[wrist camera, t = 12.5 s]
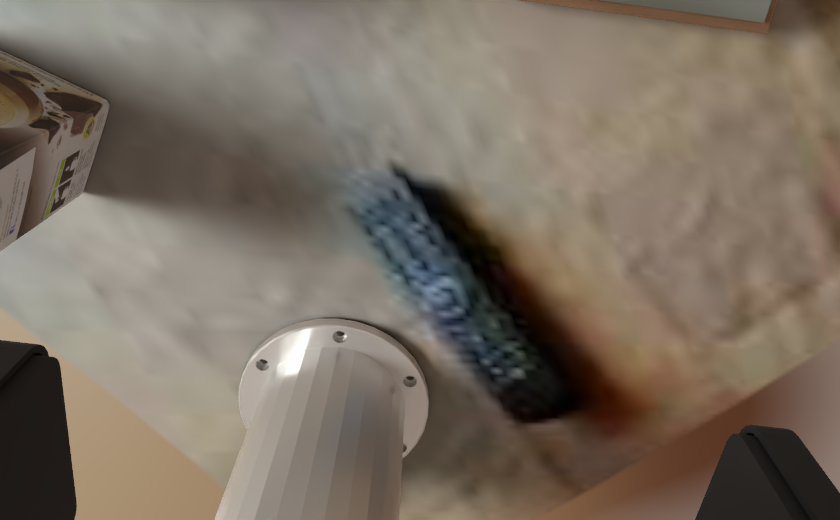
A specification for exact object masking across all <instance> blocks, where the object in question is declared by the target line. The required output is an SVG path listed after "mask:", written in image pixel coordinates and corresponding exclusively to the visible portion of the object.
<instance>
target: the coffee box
mask: <svg viewBox="0 0 840 520" xmlns="http://www.w3.org/2000/svg"><path fill="white" fill-rule="evenodd" d="M109 107H110V105H109V103H108V101H107V100H106V99H104V98H102V97H99V96H97V95H95V94H93V93H91V92H89V91H87V90H85V89H82V88H80V87H78V86H76V85H74V84H72V83H70V82H67V81H65V80H63V79H61V78H59V77H57V76H55V75H52V74H50V73H48V72H46V71H44V70H42V69H40V68H38V67H35V66H33V65H31V64H29V63H27V62H25V61H23V60H21V59H18V58H16V57H14V56H12V55H10V54H8V53H6V52H3V51H1V50H0V251H1V250H3V249H4V248H5V247H7V246H8V245H10V244H11V243H12V242H14V241H15V240H17V239H18V238H20V237H21V236H22V235H24V234H25V233H27V232H28V231H30V230H31V229H33V228H34V227H35V226H37V225H38V224H40V223H41V222H43V221H44V220H46V219H47V218H48V217H50V216H51V215H52V214H54V213H55V212H56V211H58V210H59V209H61V208H62V207H64V206H65V205H66V204H68V203H69V202H71V201H72V200H73V199H75V198H76V197H78V196H79V195H81V194H82V193H83V191H84V188H85V185H86V182H87V179H88V176H89V173H90V169H91V166H92V163H93V160H94V157H95V154H96V151H97V147H98V144H99V141H100V138H101V135H102V132H103V128H104V125H105V122H106V118H107V115H108V111H109Z"/></svg>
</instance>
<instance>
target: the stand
mask: <svg viewBox="0 0 840 520" xmlns="http://www.w3.org/2000/svg"><path fill="white" fill-rule="evenodd" d="M522 1H530V2H537V3H544V4H552V5H559V6H566V7H574V8H581V9H588V10H595V11H603V12H610V13H617V14H625V15H632V16H639V17H647V18H654V19H661V20H669V21H676V22H683V23H691V24H698V25H705V26H712V27H720V28H727V29H734V30H742V31H749V32H756V33H764V34H767V32H768V29H769V26H770V23H771V20H772V17H773V14H774V11H775V8H776V5H777V2H778V0H522Z"/></svg>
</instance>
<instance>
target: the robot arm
mask: <svg viewBox="0 0 840 520" xmlns="http://www.w3.org/2000/svg"><path fill="white" fill-rule="evenodd" d="M339 331H341V332H342V333H341V332H339ZM238 404H239V408H240V413H241V418H242V420H243V422H244V424H245V427H246V429H247V433H246V436H245V439H244V441H243V444H242V447H241V449H240V452H239V455H238V457H237V460H236V463H235V466H234V468H233V471H232V474H231V476H230V479H229V482H228V485H227V487H226V490H225V493H224V495H223V498H222V501H221V503H220V506H219V509H218V512H217V514H216V517H215V520H399V513H400V495H401V476H402V459H403V458H404V457H405V456H407V455H408V454H409V452H410V451H411V450H412V449H413V448H414V447H415V446H416V444H417V443H418V441H419V439H420V438H421V436H422V434H423V432H424V429H425V426H426V422H427V419H428V408H429V399H428V387H427V384H426V381H425V378H424V374H423V372H422V370H421V369H420V367H419V365H418V363H417V362H416V360H415V359H414V357H413V356H412V355H411V354H410V353H409V352H408V351H407V349H406V348H405V347H404V346H403V345H401V344H400V343H399V342H397V341H396V340H395V339H394V338H392V337H391V336H389V335H388V334H386V333H384V332H382V331H380V330H378V329H376V328H374V327H371V326H368V325H365V324H362V323H359V322H356V321H350V320H344V319H314V320H308V321H303V322H299V323H296V324H293V325H291V326H288V327H285V328H283V329H281V330H280V331H278V332H276V333H275V334H273V335H271V336H270V337H268V338H267V339H266V340H265V341H264V342H263V343H262V344H261V345H260V346H259V347H258V348H257V349H256V350H255V352H254V353H253V355H252V356H251V358H250V359H249V361H248V363H247V365H246V368H245V370H244V372H243V374H242V378H241V382H240V386H239V399H238ZM75 514H76V496H75V487H74V478H73V470H72V462H71V454H70V445H69V436H68V428H67V420H66V412H65V403H64V395H63V387H62V378H61V371H60V365H59V362H58V360H57V359H56V358H54V357H49V356H48V352H47V350H46V349H45V347H44V346H42V345H37V344H28V343H20V342H11V341H2V340H0V520H74V518H75ZM695 520H840V493H839V492H838V490H837V489H836V487H835V486H834V485H833V483H832V482H831V481H830V479H829V478H828V476H827V475H826V474H825V472H824V471H823V470H822V468H821V467H820V466H819V464H818V463H817V462H816V460H815V459H814V457H813V456H812V455H811V454H810V452H809V450H808V449H807V448H806V447H805V445H804V444H803V442H802V441H801V440H800V438H799V437H798V436H797V435H796V434H795V433H794V432H793V431H791V430H789V429H781V428H773V427H764V426H755V425H749V426H745V427H744V428H743V429H742V430H741V432H740V433H739V434H733V435H731V436H730V437H729V439H728V441H727V443H726V445H725V448H724V450H723V453H722V455H721V458H720V460H719V462H718V465H717V467H716V470H715V472H714V475H713V477H712V480H711V482H710V484H709V487H708V489H707V492H706V495H705V497H704V499H703V502H702V504H701V507H700V509H699V512H698V514H697V517H696V519H695Z"/></svg>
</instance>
